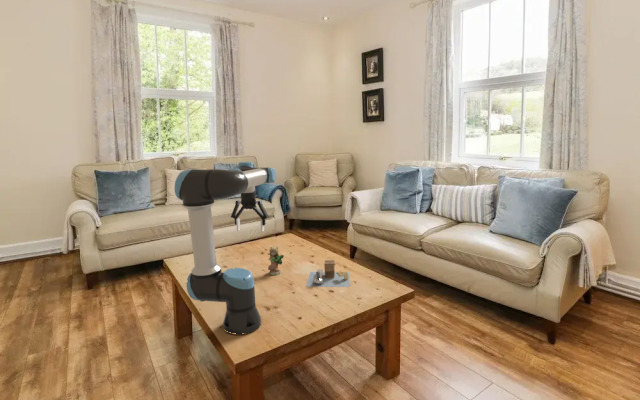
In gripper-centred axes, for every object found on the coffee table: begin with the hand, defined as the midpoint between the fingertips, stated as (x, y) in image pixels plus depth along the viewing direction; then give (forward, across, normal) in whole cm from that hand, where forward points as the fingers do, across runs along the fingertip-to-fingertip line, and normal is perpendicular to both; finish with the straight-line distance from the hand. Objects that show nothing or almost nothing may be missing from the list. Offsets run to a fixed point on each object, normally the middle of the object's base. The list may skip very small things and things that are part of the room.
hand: (250, 230), depth 196 cm
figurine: (+26, -10, -7) cm, 29 cm away
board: (+26, -41, -2) cm, 49 cm away
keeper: (+26, -49, -2) cm, 55 cm away
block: (+25, -41, -6) cm, 49 cm away
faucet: (+25, -36, -1) cm, 44 cm away
